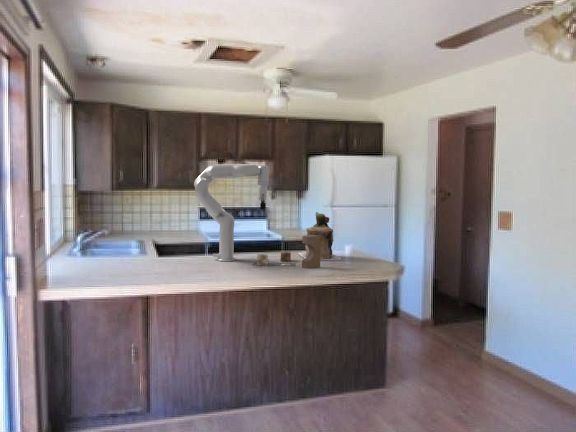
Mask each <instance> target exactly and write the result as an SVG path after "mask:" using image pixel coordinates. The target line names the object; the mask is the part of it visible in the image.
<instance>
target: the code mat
mask: <svg viewBox="0 0 576 432" xmlns="http://www.w3.org/2000/svg"><path fill="white" fill-rule="evenodd" d="M251 267H297V263H296V262H268V265H257V262H252V264H251Z"/></svg>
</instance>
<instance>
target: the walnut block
mask: <svg viewBox="0 0 576 432" xmlns="http://www.w3.org/2000/svg"><path fill="white" fill-rule="evenodd" d="M291 257H292V253H291V251H280V263H292V262H291V261H292V260H291Z"/></svg>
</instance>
